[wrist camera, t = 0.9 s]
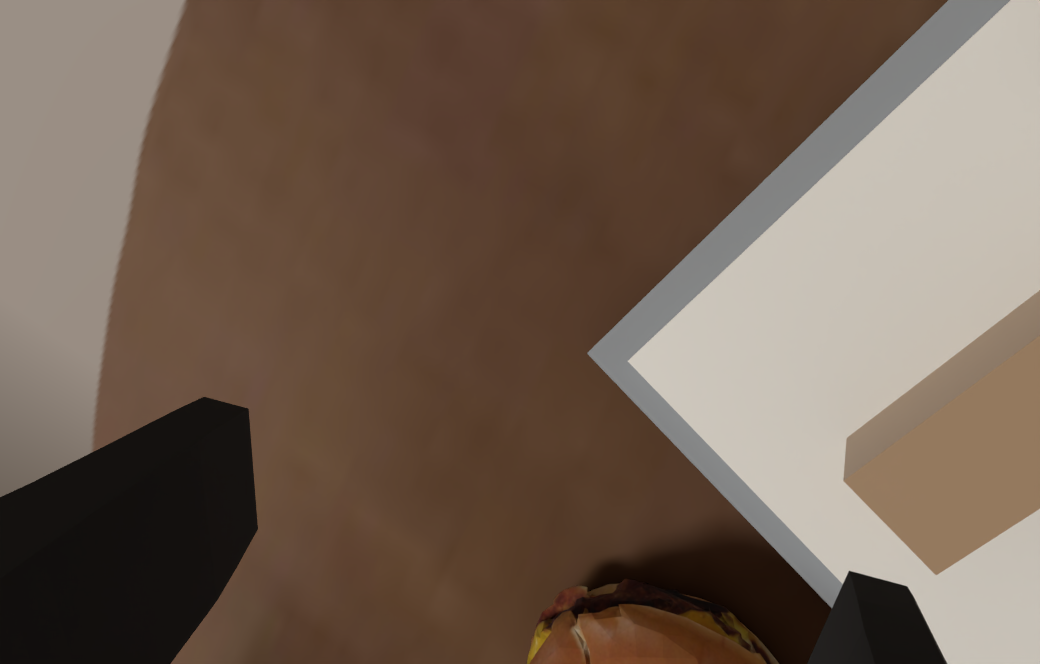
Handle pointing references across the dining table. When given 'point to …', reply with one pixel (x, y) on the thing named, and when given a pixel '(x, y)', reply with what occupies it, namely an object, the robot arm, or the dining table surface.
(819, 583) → the mat
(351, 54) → the dining table surface
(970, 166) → the lid
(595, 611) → the burger
